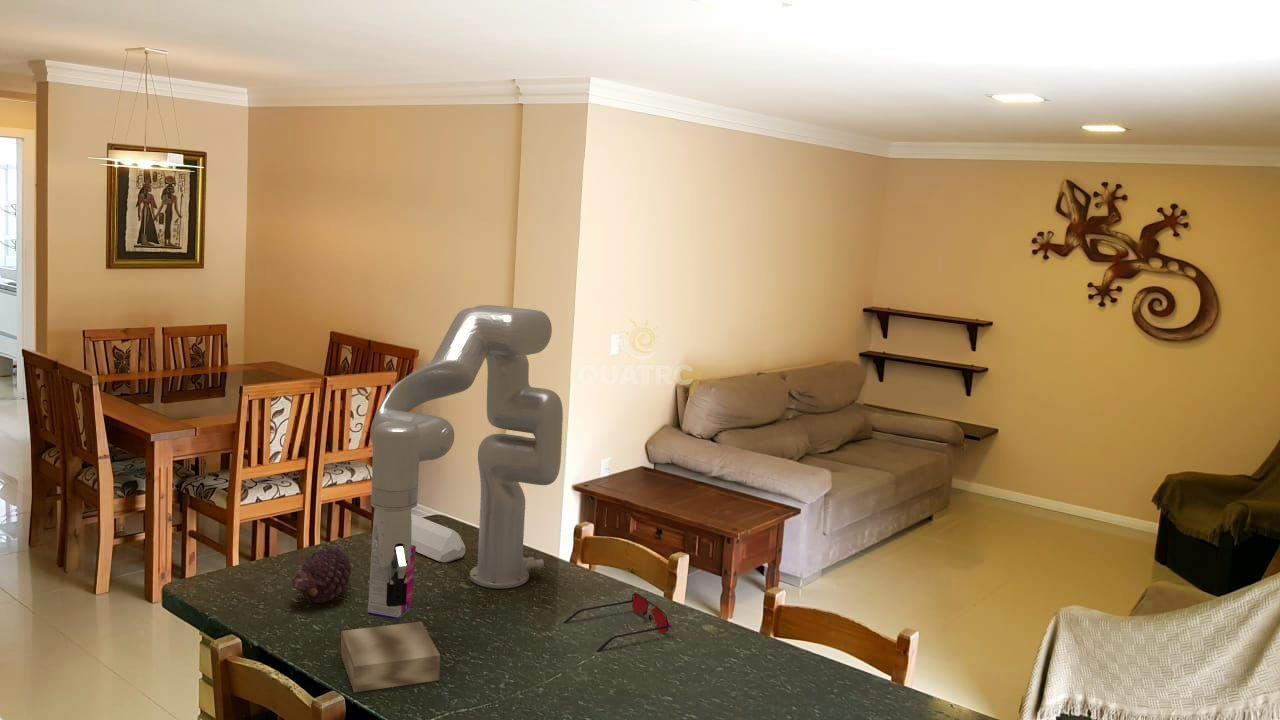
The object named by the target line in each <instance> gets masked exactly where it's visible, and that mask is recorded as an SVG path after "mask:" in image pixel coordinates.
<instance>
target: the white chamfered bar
mask: <svg viewBox="0 0 1280 720" xmlns="http://www.w3.org/2000/svg"><path fill="white" fill-rule="evenodd" d="M411 520H412V535H411V545H414V546H416V552H417V553H419V554H422V555H423V556H426V557H427V558H431V559H432V560H435V561H438V562H440V563H449V562H452V561H456V560H459V559H462V558H463V557H464V555H465V554H466V546H465V543H464V541H463V539H462V537H461V535H460V533H458V532H457V531H455V530H454V529H452V528H449V527H447V526H444V525H442V524H438V523H436V522H435V521H434V522H433V521H432V520H428V519H426V518H424V517H421V516H419V515H416V514H414V513H411ZM416 552H415V553H416Z"/></svg>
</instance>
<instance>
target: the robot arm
mask: <svg viewBox="0 0 1280 720" xmlns="http://www.w3.org/2000/svg"><path fill="white" fill-rule="evenodd" d="M551 322H552V321H551V320H550V317H549V316H548V315H547V313H545V312H543V311H541V310H536V309H530V308H529V309H528V308H519V307H518V308H517V307H512V306H503V305H493V304H483V305H482V304H481V305H476V306H474V307H466V308H464V309H461V310H460V311H459V312H458V313H457V314H456V315H455V317H454V319H453V321H452V322H451V324H450V326H449V327H448V330H447V332H446V333H445V335H444V337H443V339H442V341H441V343H440V345H439V346H438V348H437V350H436V352H435V354H434V356H433V358H432V359H431V361H430V362H429V363H427V364H425V365H424V366H422V367H420V368H418V369H416V370H415V371H413V372H411V373H410V374H408V375H406V376H405V377H404V378H402V379H401V380H399V381H398V382H396V383H395V384H394V385H393V386H392V387H391V388H390V389H389V390H388V392H387V393H386V395H385V396H384V398H383V399H382V401H381V403H380V406H379V407H378V408H377V411H376V412H375V414H374V418H373V419H372V422H371V426H370V431H369V432H370V433H369V434H370V435H369V436H370V440H371V444H372V463H371V464H372V465H371V466H372V467H371V468H372V469H371V498H370V500H371V501H370V505H371V507H373V508H374V510H373V521H372V525H373V526H372V534H371V535H372V537H371V551H372V550H374V549H375V548H376V550H377V563H378V565H379V566H380V567H381V568H382V569H385V567H388V574H389V583H387V599H386V604H387V606H388V607H392V606H401V605H405V604H406V600H407V573H406V570H407V566H408V565H409V564H410V559H411V535H412V520H411V514H412V509H414V508H415V507H417V506H418V496H419V495H418V494H419V493H418V492H419V469H420V467H419V465H420V464H419V463H420V462H425V461H432V460H433V461H434V460H439V459H440V458H441V457H444V456H446V454H447V453H448V452H449V451H450V450H451V449H452V447H453V445H454V441H455V430H454V427H453V425H452V424H451V423H450V422H449V421H448V420H447V419H446V418H444V417H442V416H436V415H431V414H424V413H418V412H413V411H412V410H413V409H415V408H417V407H418V406H421V405H422V404H424V403H427V402H429V401H433V400H436V399H441V398H445V397H449V396H452V395H456V394H459V393H462V392H464V391H465V392H466V391H467V390H468V389H469V388H470V387H471V386H472V385H473V383H474V382H475V380H476V378H477V376H478V373H479V372H480V369H481V367H482V365H483V363H484V361H485V360H486V365H487V378H486V379H487V380H486V381H487V382H486V383H487V384H486V386H487V387H486V418H487V420H488V423H489V424H490V425H491V426H492V427H495V428H498V429H503V430H507V431H514V432H520V433H521V432H522V433H527V434H532V435H533V437H527V436H522V435H516V434H515V435H514V434H509V433H508V434H507V433H493V434H490V435H488V436H486V437H485V438H483V439H482V440H481V442H480V444H479V446H478V448H477V463H478V464H477V465H478V470H479V479H480V506H479V507H480V508H479V523H478V524H479V529H478V531H479V532H478V547H477V548H478V549H477V565H476V566H474V567H473V568H471V570H470V571H469V579H470V581H471V582H473V583H474V584H475V585H478V586H481V587H484V588H488V589H510V588H516V587H520V586H522V585H524V584H525V583H527V582H528V580H529V579H530V574H529V572H530V570H531V569H536V570H537V569H543V568H544V567H545V562H544V559H543V558H539V559H535V557H534V556H528V557H524V555H523V553H524V539H525V517H526V496H525V493H524V490H523V488H522V486H521V483H523V484H530V485H537V486H549V485H551V484H553V483H554V482H555V481H556V480H557V478H558V477H559V474H560V470H561V469H560V468H561V462H562V461H561V459H562V441H563V439H562V438H563V420H564V413H563V411H564V409H563V408H564V407H563V403H562V400H561V397H560V396H559V395H558V393H556V392H555V391H554V390H551V389H548V388H540V387H532V386H531V384H529V379H530V378H529V375H530V374H529V371H530V370H529V369H530V363H529V359H528V356H529V355H530V356H531V355H535V354H539V353H541V352H542V351H544V350H545V349H546V348H547V347H548V345H549V343H550V340H551V338H552V333H553V330H552V329H553V327H552V323H551ZM405 559H406V561H405ZM394 560H396V562H397V564H393V565H391V562H392V561H394ZM393 569H397V572H395V573H394V576H393Z"/></svg>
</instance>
